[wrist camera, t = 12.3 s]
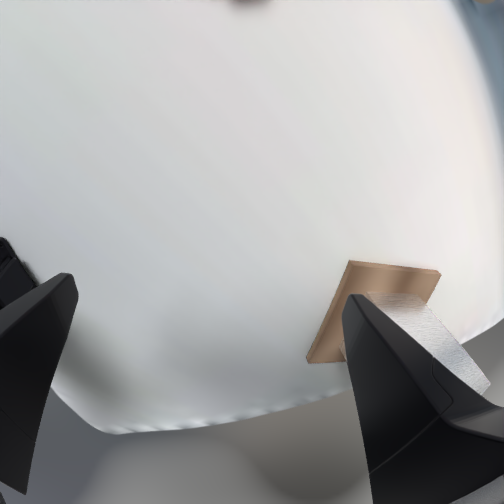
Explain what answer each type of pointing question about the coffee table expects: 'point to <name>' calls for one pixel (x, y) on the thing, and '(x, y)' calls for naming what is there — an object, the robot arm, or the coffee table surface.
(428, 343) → the white foam block
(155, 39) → the coffee table surface
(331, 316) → the post base
